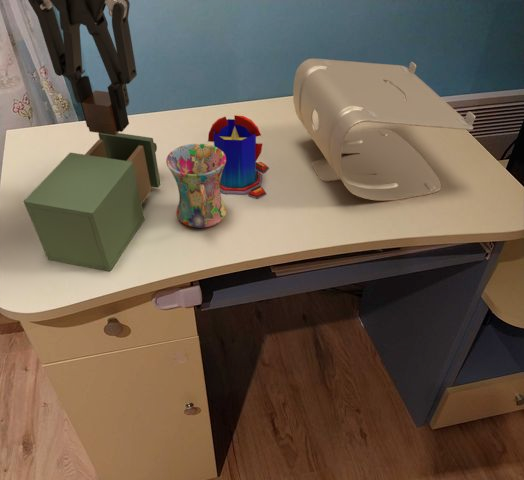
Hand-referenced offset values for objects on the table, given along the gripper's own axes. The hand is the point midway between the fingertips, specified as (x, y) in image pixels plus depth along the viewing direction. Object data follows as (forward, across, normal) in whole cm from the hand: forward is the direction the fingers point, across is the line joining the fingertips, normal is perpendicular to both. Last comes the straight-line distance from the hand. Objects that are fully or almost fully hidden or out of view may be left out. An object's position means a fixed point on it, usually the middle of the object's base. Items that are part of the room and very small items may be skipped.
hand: (108, 125), depth 77 cm
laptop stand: (+14, -40, -23) cm, 48 cm away
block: (0, 0, 0) cm, 0 cm away
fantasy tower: (+14, -17, -11) cm, 25 cm away
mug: (+14, -15, +2) cm, 21 cm away
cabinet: (+13, 0, +11) cm, 18 cm away
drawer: (+13, 0, -1) cm, 13 cm away
